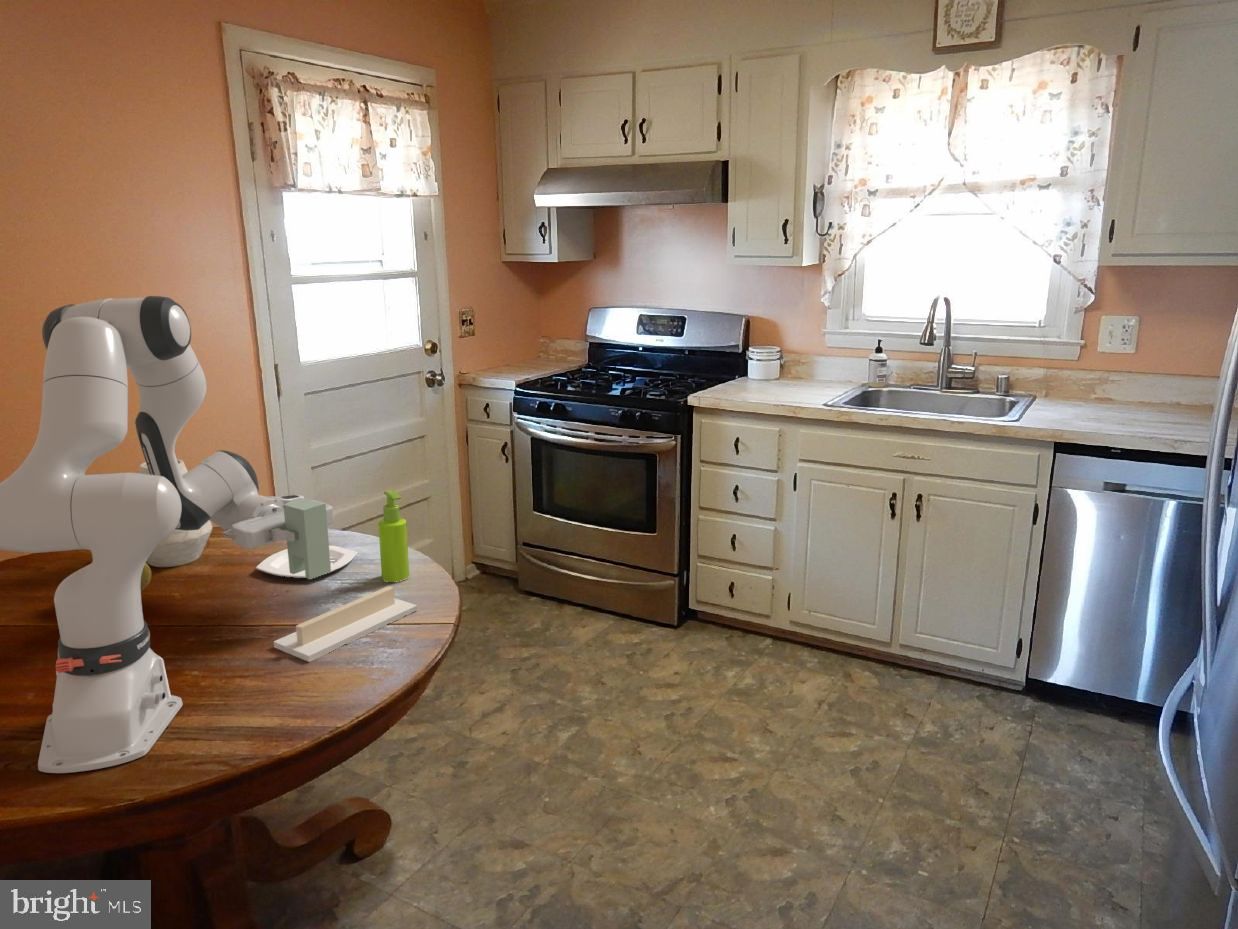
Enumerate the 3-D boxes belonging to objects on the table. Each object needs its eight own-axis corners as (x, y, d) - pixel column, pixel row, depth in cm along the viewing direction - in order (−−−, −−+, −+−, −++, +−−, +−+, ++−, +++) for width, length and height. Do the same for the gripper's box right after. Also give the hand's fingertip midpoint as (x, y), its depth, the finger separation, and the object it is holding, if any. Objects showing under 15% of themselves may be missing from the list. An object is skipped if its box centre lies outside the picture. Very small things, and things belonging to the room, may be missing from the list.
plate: (300, 548, 207) (299, 541, 207) (369, 558, 201) (368, 550, 201) (244, 577, 189) (243, 569, 189) (317, 588, 184) (316, 580, 183)
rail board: (309, 662, 152) (307, 638, 150) (274, 647, 157) (271, 624, 156) (417, 610, 173) (416, 589, 171) (383, 599, 178) (381, 578, 177)
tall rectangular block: (309, 579, 164) (303, 510, 160) (289, 572, 167) (283, 504, 163) (331, 571, 168) (325, 503, 164) (311, 565, 171) (305, 498, 168)
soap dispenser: (389, 586, 184) (384, 498, 179) (377, 576, 190) (372, 490, 185) (415, 580, 188) (410, 493, 183) (403, 570, 193) (398, 486, 188)
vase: (208, 569, 193) (196, 470, 187) (122, 576, 189) (107, 475, 183) (221, 543, 209) (210, 452, 203) (142, 549, 205) (129, 456, 199)
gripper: (215, 517, 163) (260, 531, 156) (306, 492, 180) (350, 503, 172) (219, 548, 164) (264, 563, 157) (308, 520, 181) (352, 533, 174)
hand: (309, 532), depth 165 cm, fingers closed on tall rectangular block, 5 cm apart
